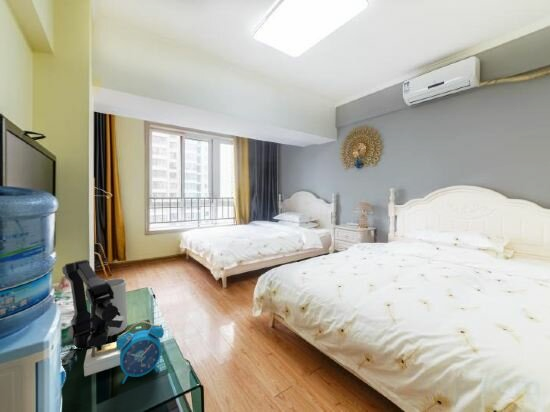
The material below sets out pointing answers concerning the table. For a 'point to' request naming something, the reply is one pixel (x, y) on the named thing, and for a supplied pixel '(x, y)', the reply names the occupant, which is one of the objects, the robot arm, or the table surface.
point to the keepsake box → (100, 360)
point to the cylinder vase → (118, 303)
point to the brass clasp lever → (106, 348)
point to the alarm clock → (140, 350)
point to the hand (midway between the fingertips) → (99, 349)
